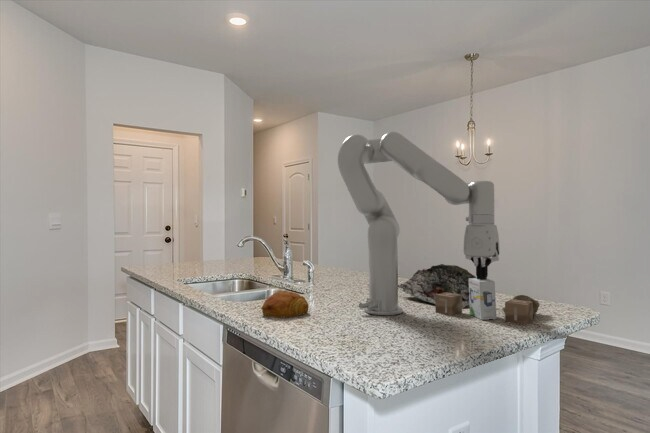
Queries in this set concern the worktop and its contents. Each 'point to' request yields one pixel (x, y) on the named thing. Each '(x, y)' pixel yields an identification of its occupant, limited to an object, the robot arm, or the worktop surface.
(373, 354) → the worktop surface
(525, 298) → the stone
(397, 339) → the worktop surface
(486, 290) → the ink box
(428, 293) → the bark piece
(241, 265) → the worktop surface
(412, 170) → the robot arm
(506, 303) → the walnut block
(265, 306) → the croissant
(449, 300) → the cardboard box
